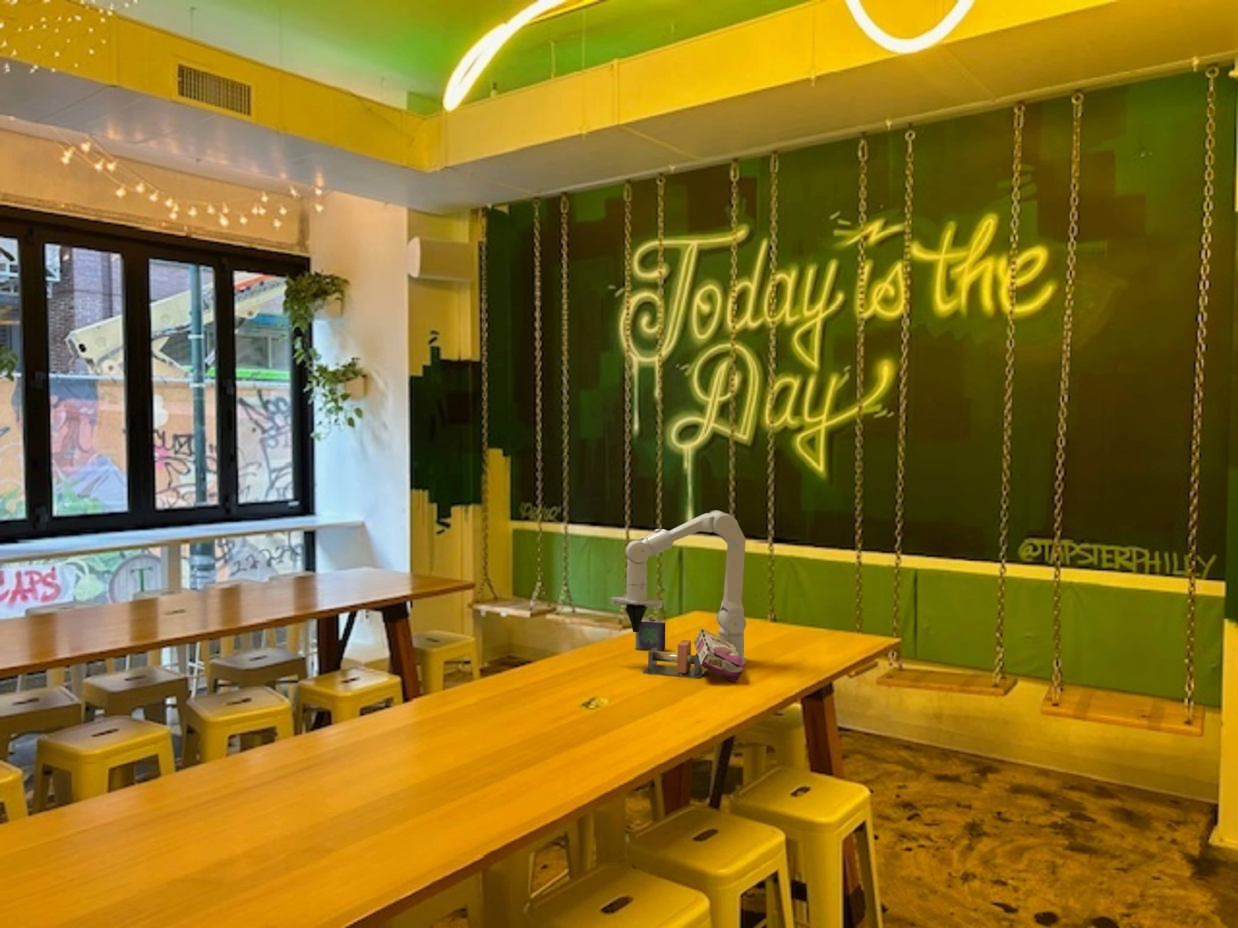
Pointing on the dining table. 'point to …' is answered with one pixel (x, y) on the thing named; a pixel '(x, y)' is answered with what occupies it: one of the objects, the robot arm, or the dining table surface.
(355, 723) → the dining table surface
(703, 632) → the candy bar box
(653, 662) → the pipe rig
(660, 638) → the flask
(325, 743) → the dining table surface
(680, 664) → the orange block
